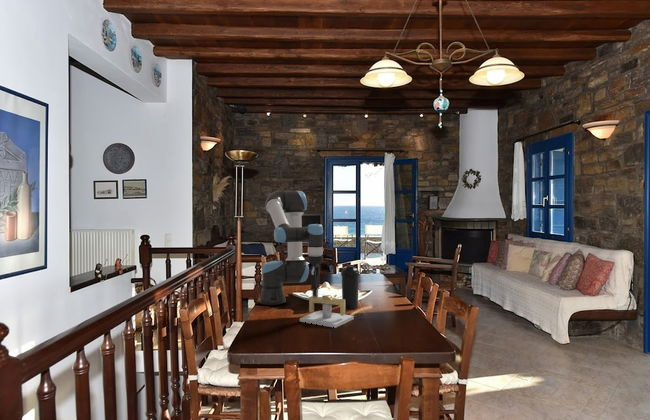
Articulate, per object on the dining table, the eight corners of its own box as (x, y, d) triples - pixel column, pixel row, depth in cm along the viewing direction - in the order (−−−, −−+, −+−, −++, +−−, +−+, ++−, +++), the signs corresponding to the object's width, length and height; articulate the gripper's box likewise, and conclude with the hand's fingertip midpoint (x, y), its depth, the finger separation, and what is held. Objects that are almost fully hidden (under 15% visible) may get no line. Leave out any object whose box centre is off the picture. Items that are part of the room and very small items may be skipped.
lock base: (299, 321, 214) (299, 305, 214) (319, 313, 230) (319, 298, 229) (335, 327, 204) (335, 310, 204) (353, 319, 219) (353, 302, 219)
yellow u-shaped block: (308, 312, 218) (308, 295, 217) (312, 310, 222) (312, 293, 222) (342, 316, 211) (342, 298, 211) (346, 313, 215) (346, 296, 215)
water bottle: (359, 305, 247) (359, 264, 247) (359, 309, 237) (359, 267, 237) (341, 304, 248) (341, 264, 248) (340, 309, 238) (340, 266, 238)
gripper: (319, 257, 213) (319, 305, 214) (325, 253, 226) (325, 299, 226) (304, 256, 215) (304, 304, 215) (310, 253, 227) (310, 298, 228)
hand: (315, 302), depth 221 cm, fingers closed
